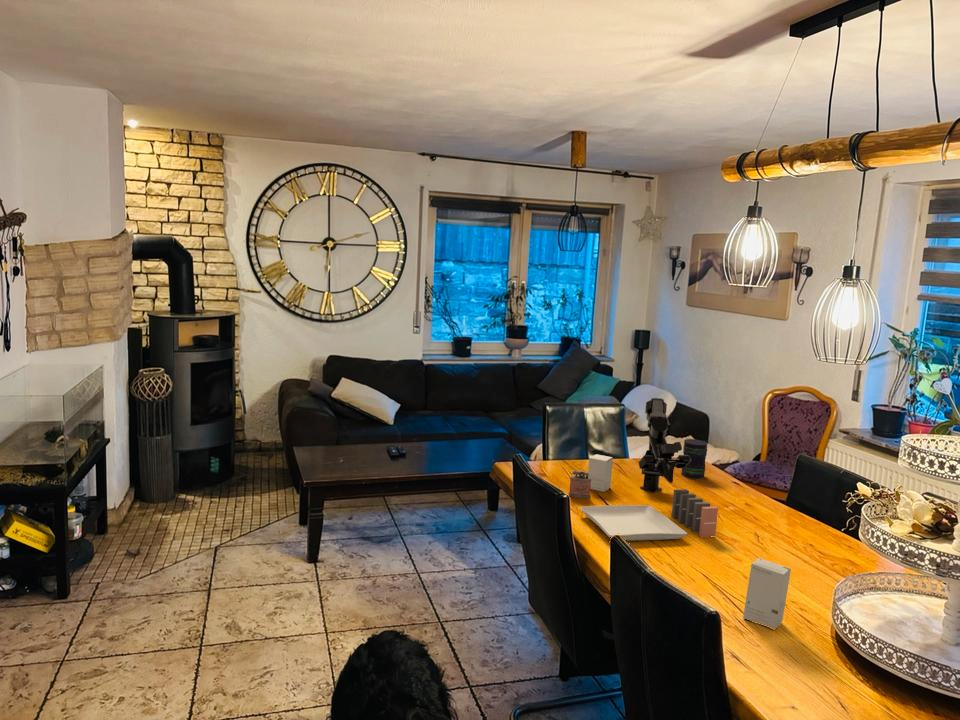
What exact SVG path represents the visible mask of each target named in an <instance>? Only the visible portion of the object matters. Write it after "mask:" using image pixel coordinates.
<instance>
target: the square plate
mask: <svg viewBox="0 0 960 720" xmlns="http://www.w3.org/2000/svg"><path fill="white" fill-rule="evenodd" d="M579 509H581V511H582V513H583V514H584V515H585V516H586V517H588V519H589V520H591V521H592V522H593V523H594V524H595V525H596V526H598V527H599V529H600V530H602V531H603V533H604V534H605V535H606V536H607V537H608V538H610V537H612V536H613V535H620V536H622V537H624V538H625V539H626V540H627V541H626V542H632V541H633V542H634V541H636V540H637V541H658V540H659V541H660V540H664V541H665V540H676V539H677V540H679V539H682V538H685V537H686V536H688V532H686V531H685V530H684V529H682V527H680V526H679V525H677V524H676V523H675V522H673V521H672V519H669V518H668V517H667V516H665V515H664V514H663V513H661V512H660V511H658V510H657V509H656V508H655V507H653V506H651V505H649V504H648V505H647V504H645V505H644V504H634V505H633V504H620V505H619V504H617V505H615V504H613V505H612V504H611V505H608V504H607V505H592V506H591V505H590V506H589V505H588V506H579ZM618 533H619V534H618Z"/></svg>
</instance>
